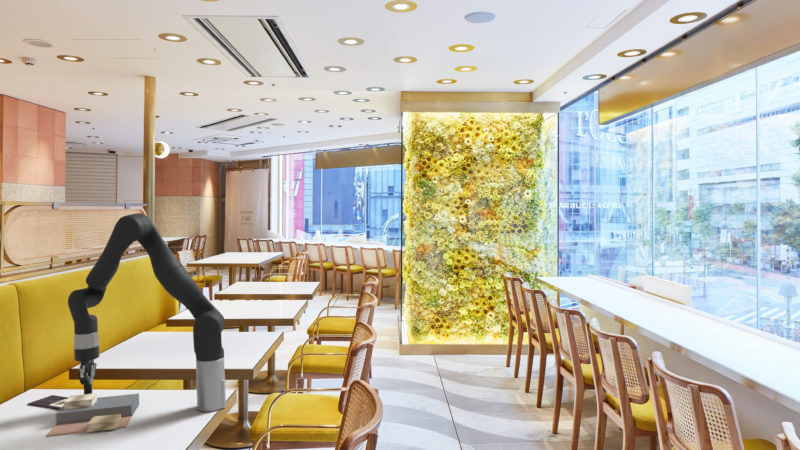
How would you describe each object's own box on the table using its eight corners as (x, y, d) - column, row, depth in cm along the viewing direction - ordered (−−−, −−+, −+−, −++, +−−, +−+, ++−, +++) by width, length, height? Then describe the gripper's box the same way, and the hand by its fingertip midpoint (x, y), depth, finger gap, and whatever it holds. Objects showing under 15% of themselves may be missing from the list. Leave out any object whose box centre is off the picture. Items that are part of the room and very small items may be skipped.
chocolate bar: (52, 395, 193) (86, 400, 187) (52, 397, 193) (86, 403, 187) (27, 403, 185) (62, 409, 178) (27, 406, 185) (62, 412, 178)
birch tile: (97, 400, 177) (96, 393, 177) (91, 406, 171) (91, 399, 171) (70, 403, 175) (70, 395, 174) (64, 409, 169) (64, 402, 169)
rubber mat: (131, 417, 171) (131, 416, 171) (125, 427, 164) (125, 425, 163) (55, 426, 165) (55, 424, 165) (46, 436, 157) (46, 435, 157)
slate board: (139, 404, 183) (138, 393, 183) (131, 417, 172) (131, 405, 172) (68, 412, 177) (68, 400, 177) (56, 425, 166) (55, 413, 165)
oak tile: (115, 420, 161) (115, 428, 161) (121, 413, 167) (121, 421, 167) (87, 423, 159) (87, 431, 159) (93, 416, 165) (93, 424, 165)
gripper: (93, 349, 174) (94, 399, 175) (103, 340, 187) (105, 387, 187) (67, 351, 172) (69, 402, 173) (80, 341, 185) (82, 389, 185)
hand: (88, 394), depth 180 cm, fingers closed
